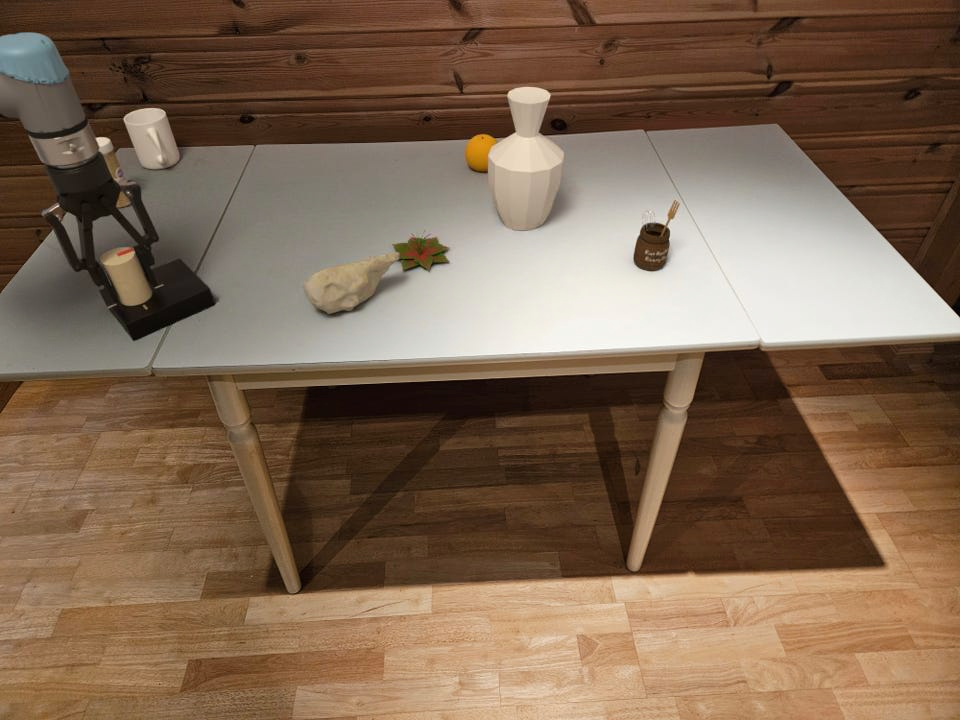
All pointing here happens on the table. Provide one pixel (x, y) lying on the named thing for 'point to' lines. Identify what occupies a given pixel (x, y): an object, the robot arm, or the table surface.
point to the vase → (525, 164)
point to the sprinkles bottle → (113, 167)
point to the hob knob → (126, 276)
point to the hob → (163, 301)
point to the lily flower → (420, 252)
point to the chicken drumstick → (347, 283)
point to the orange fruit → (479, 151)
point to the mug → (152, 138)
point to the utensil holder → (653, 243)
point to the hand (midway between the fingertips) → (133, 290)
